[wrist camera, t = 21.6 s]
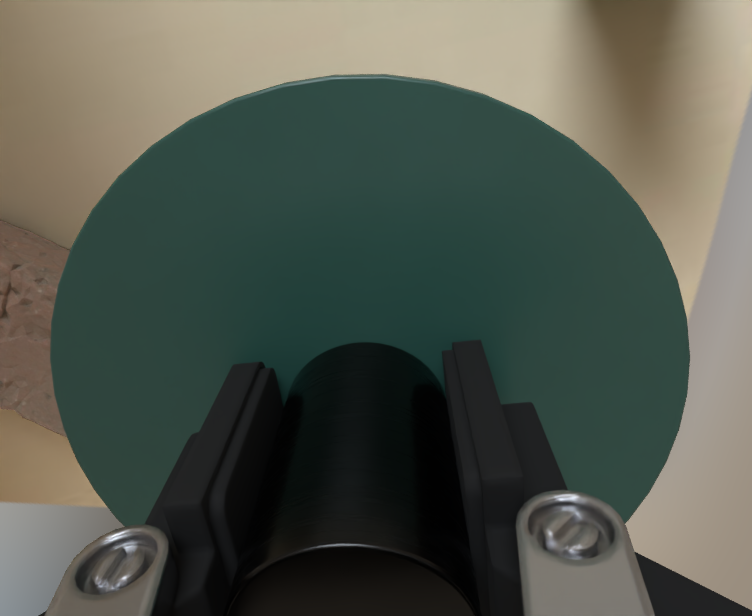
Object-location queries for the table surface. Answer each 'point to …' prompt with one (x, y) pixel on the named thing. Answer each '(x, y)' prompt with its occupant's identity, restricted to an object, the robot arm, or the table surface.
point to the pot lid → (366, 326)
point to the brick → (28, 324)
